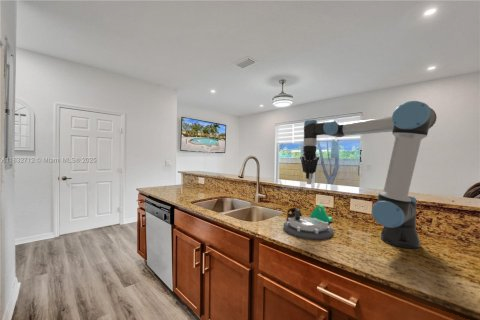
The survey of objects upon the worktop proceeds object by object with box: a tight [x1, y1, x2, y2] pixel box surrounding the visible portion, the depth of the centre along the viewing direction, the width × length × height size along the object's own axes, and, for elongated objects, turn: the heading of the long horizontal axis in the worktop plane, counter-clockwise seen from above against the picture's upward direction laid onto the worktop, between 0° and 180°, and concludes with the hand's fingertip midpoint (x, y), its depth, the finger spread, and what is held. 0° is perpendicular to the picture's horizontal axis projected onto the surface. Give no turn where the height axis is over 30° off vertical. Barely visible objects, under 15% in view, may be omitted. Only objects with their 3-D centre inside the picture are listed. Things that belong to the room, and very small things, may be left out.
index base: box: [283, 220, 334, 241], centre depth 113 cm, size 26×26×3 cm
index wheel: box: [286, 208, 331, 234], centre depth 113 cm, size 22×22×7 cm
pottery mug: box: [286, 207, 303, 219], centre depth 136 cm, size 12×10×8 cm
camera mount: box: [309, 204, 333, 223], centre depth 132 cm, size 12×8×10 cm, turn 50°
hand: (308, 184), depth 125 cm, fingers closed
